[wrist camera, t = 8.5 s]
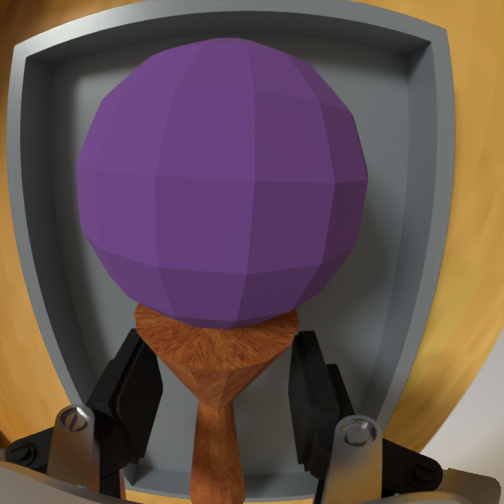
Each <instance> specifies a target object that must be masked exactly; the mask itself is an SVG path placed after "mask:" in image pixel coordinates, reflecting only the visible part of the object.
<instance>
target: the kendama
mask: <svg viewBox="0 0 504 504" xmlns="http://www.w3.org/2000/svg"><path fill="white" fill-rule="evenodd" d="M76 172H77V191H78V204H79V215H80V225H81V229H82V231H83V233H84V234H85V236H86V238H87V240H88V241H89V243H90V245H91V246H92V248H93V250H94V252H95V253H96V255H97V256H98V258H99V260H100V261H101V263H102V265H103V266H104V268H105V269H106V271H107V273H108V274H109V276H110V277H111V278H112V279H113V280H114V282H115V283H116V284H117V285H118V286H119V287H120V288H121V289H122V290H123V292H124V293H125V294H126V295H127V296H128V297H129V298H130V299H132V300H134V301H136V302H138V303H139V304H138V305H137V307H136V309H135V311H134V315H135V322H136V329H137V333H138V334H139V335H140V336H141V338H142V339H143V340H144V341H145V342H146V344H147V345H148V346H149V347H150V348H151V349H152V350H153V352H154V353H155V354H156V355H157V356H158V357H159V358H160V359H161V361H162V362H163V363H164V364H165V365H166V366H167V367H168V368H169V369H170V370H171V371H172V372H173V374H174V375H175V376H176V377H177V378H178V379H179V380H180V381H181V382H182V383H183V384H184V385H185V386H186V387H187V388H188V389H189V390H190V391H191V392H192V393H193V394H194V395H195V396H196V397H197V398H198V399H199V401H198V409H197V418H196V427H195V437H194V446H193V456H192V467H191V477H190V489H189V496H190V499H191V501H192V504H243V503H244V501H245V484H244V478H243V471H242V465H241V458H240V451H239V444H238V436H237V429H236V421H235V414H234V406H233V400H234V399H235V398H236V397H237V396H238V395H239V394H240V393H241V392H243V391H244V390H245V389H246V388H247V387H248V386H249V385H250V384H251V383H252V382H253V381H254V380H255V379H256V378H257V377H258V376H260V375H261V374H262V373H263V372H264V371H265V370H266V369H267V368H268V367H269V366H270V365H271V364H272V363H273V362H274V361H275V360H276V359H277V358H278V357H279V356H280V355H281V354H282V353H283V352H284V351H285V350H286V349H287V348H288V347H289V346H290V345H291V343H292V341H293V339H294V336H295V334H296V332H297V330H298V328H299V325H300V324H299V319H298V315H297V311H296V307H298V306H299V305H301V304H303V303H304V302H306V301H307V300H309V299H311V298H312V297H314V296H315V295H317V294H318V293H320V292H321V291H322V290H323V289H324V288H325V286H326V285H327V284H328V282H329V281H330V280H331V278H332V277H333V276H334V274H335V273H336V272H337V271H338V269H339V268H340V267H341V265H342V264H343V263H344V261H345V260H346V258H347V257H348V256H349V254H350V253H351V252H352V250H353V249H354V248H355V246H356V241H357V237H358V232H359V227H360V222H361V217H362V212H363V207H364V201H365V195H366V190H367V184H368V170H367V166H366V161H365V157H364V153H363V149H362V146H361V142H360V138H359V134H358V131H357V127H356V124H355V120H354V117H353V115H352V113H351V112H350V110H349V109H348V108H347V107H346V105H345V104H344V103H343V102H342V101H341V99H340V98H339V97H338V96H337V94H336V93H335V92H334V91H333V90H332V89H331V87H330V86H329V85H328V84H327V83H326V82H325V81H324V79H323V78H322V77H321V76H320V75H319V74H318V73H317V72H316V70H315V69H314V68H313V67H312V66H311V65H310V64H309V63H308V62H306V61H303V60H301V59H298V58H296V57H294V56H291V55H289V54H286V53H284V52H281V51H278V50H276V49H273V48H270V47H268V46H265V45H262V44H259V43H256V42H253V41H250V40H246V39H240V38H216V39H210V40H205V41H200V42H196V43H191V44H187V45H183V46H179V47H175V48H171V49H168V50H165V51H163V52H160V53H158V54H155V55H153V56H150V57H149V58H148V59H147V60H146V61H144V62H143V63H142V64H141V65H140V66H138V67H137V68H136V69H135V70H134V71H133V72H131V73H130V74H129V75H128V76H127V77H126V78H125V79H124V80H123V81H121V82H120V83H119V84H118V85H117V86H116V87H115V88H114V89H113V90H112V91H111V92H110V93H109V94H108V95H107V96H106V97H105V98H104V99H103V100H102V101H101V103H100V105H99V107H98V110H97V112H96V114H95V117H94V119H93V121H92V124H91V126H90V128H89V131H88V133H87V136H86V138H85V141H84V144H83V146H82V149H81V152H80V154H79V157H78V160H77V163H76Z"/></svg>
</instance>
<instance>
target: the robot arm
mask: <svg viewBox="0 0 504 504" xmlns="http://www.w3.org/2000/svg"><path fill="white" fill-rule="evenodd" d="M162 394H163V382H162V377H161V373H160V369H159V365H158V360H157V356H156V354H155V353H154V352H153V350H152V349H151V348H150V347H149V346H148V345H147V344H146V342H145V341H144V340H143V339H142V338H141V336H140V335H139V334H138V333H137V329H136V328H132V329H131V330H130V331H129V333H128V335H127V337H126V338H125V340H124V342H123V344H122V345H121V347H120V349H119V351H118V352H117V354H116V356H115V358H114V359H112V360H110V361H109V363H108V364H107V366H106V368H105V370H104V372H103V373H102V375H101V377H100V379H99V381H98V382H97V384H96V386H95V388H94V390H93V392H92V394H91V396H90V397H89V399H88V401H87V403H86V405H81V404H74V405H69V406H67V407H65V408H63V409H62V410H61V411H60V412H59V413H58V414H57V417H56V420H55V425H54V427H52V428H49V429H46V430H44V431H41V432H38V433H36V434H33V435H30V436H27V437H24V438H22V439H19V440H16V441H14V442H13V443H12V444H11V445H10V446H9V447H8V449H7V451H5V449H4V448H2V449H0V504H142V503H137V502H132V501H128V500H126V494H125V482H124V469H123V468H124V467H126V466H127V465H128V463H131V464H136V465H138V462H139V459H140V458H144V456H145V453H146V449H147V446H148V442H149V438H150V435H151V431H152V428H153V424H154V421H155V417H156V414H157V411H158V407H159V404H160V400H161V397H162ZM288 397H289V404H290V411H291V418H292V425H293V432H294V439H295V446H296V453H297V460H298V464H299V465H300V464H304V470H305V472H309V471H310V474H311V475H312V476H314V477H315V478H317V484H316V489H315V494H314V498H313V503H312V504H499V500H500V496H501V486H500V484H499V482H498V481H497V480H496V479H495V478H492V477H489V476H483V475H478V474H473V473H468V472H464V471H459V470H455V469H451V468H448V470H443V469H442V468H441V466H440V465H439V463H438V462H437V461H435V460H433V459H431V458H429V457H427V456H424V455H421V454H419V453H417V452H414V451H412V450H409V449H407V448H404V447H402V446H400V445H397V444H395V443H393V442H391V441H388V440H386V439H384V438H382V431H381V427H380V426H379V424H378V423H377V422H376V421H375V420H373V419H372V418H369V417H367V416H363V415H355V412H354V410H353V407H352V404H351V401H350V398H349V396H348V393H347V390H346V387H345V385H344V382H343V379H342V376H341V374H340V371H339V368H338V366H337V364H335V363H334V364H325V361H324V358H323V355H322V352H321V349H320V346H319V343H318V340H317V337H316V334H315V331H299V333H298V335H295V336H294V339H293V342H292V352H291V363H290V373H289V382H288Z"/></svg>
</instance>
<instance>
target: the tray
mask: <svg viewBox="0 0 504 504" xmlns="http://www.w3.org/2000/svg"><path fill="white" fill-rule="evenodd" d="M216 38H240V39H246V40H250V41H253V42H256V43H259V44H262V45H265V46H268V47H270V48H273V49H276V50H278V51H281V52H284V53H286V54H289V55H291V56H294V57H296V58H298V59H301V60H303V61H306V62H308V63H309V64H310V65H311V66H312V67H313V68H314V69H315V70H316V72H317V73H318V74H319V75H320V76H321V77H322V78H323V79H324V81H325V82H326V83H327V84H328V85H329V86H330V87H331V89H332V90H333V91H334V92H335V93H336V94H337V96H338V97H339V98H340V99H341V101H342V102H343V103H344V104H345V105H346V107H347V108H348V109H349V110H350V112H351V113H352V115H353V117H354V120H355V124H356V127H357V131H358V134H359V138H360V142H361V146H362V149H363V153H364V157H365V161H366V166H367V170H368V184H367V190H366V195H365V201H364V207H363V212H362V217H361V222H360V227H359V232H358V237H357V241H356V246H355V248H354V249H353V250H352V252H351V253H350V254H349V256H348V257H347V258H346V260H345V261H344V263H343V264H342V265H341V267H340V268H339V269H338V271H337V272H336V273H335V274H334V276H333V277H332V278H331V280H330V281H329V282H328V284H327V285H326V286H325V288H324V289H323V290H322V291H321V292H320V293H318V294H317V295H315V296H314V297H312V298H311V299H309V300H307V301H306V302H304V303H303V304H301V305H299V306H298V307H296V311H297V315H298V319H299V324H300V325H299V328H298V330H297V332H296V334H295V335H298V333H299V331H315V334H316V337H317V340H318V343H319V346H320V349H321V352H322V355H323V358H324V361H325V364H334V363H335V364H337V366H338V368H339V371H340V374H341V376H342V379H343V382H344V385H345V387H346V390H347V393H348V396H349V398H350V401H351V404H352V407H353V410H354V412H355V415H363V416H367V417H369V418H372V419H373V420H375V421H376V422H377V423H378V424H379V426H380V427H381V431H382V435H383V433H384V431H385V429H386V427H387V425H388V423H389V421H390V418H391V416H392V414H393V412H394V410H395V407H396V405H397V403H398V401H399V398H400V396H401V393H402V391H403V389H404V386H405V384H406V381H407V379H408V376H409V373H410V371H411V368H412V365H413V363H414V360H415V357H416V354H417V351H418V348H419V345H420V342H421V339H422V336H423V333H424V330H425V326H426V323H427V320H428V316H429V313H430V309H431V305H432V302H433V298H434V294H435V290H436V285H437V281H438V277H439V272H440V267H441V263H442V258H443V252H444V247H445V241H446V235H447V228H448V222H449V214H450V206H451V197H452V186H453V173H454V154H455V107H454V88H453V76H452V66H451V57H450V50H449V43H448V37H447V31H446V29H444V28H442V27H439V26H436V25H434V24H431V23H428V22H426V21H423V20H420V19H417V18H414V17H411V16H408V15H405V14H401V13H398V12H395V11H391V10H387V9H384V8H380V7H376V6H372V5H367V4H363V3H358V2H353V1H348V0H148V1H143V2H138V3H134V4H129V5H125V6H121V7H117V8H113V9H109V10H106V11H102V12H99V13H95V14H92V15H89V16H86V17H83V18H80V19H77V20H74V21H71V22H68V23H66V24H63V25H60V26H58V27H55V28H53V29H50V30H48V31H45V32H43V33H41V34H38V35H36V36H34V37H32V38H30V39H27V40H25V41H23V42H21V43H19V44H17V45H15V47H14V53H13V59H12V66H11V73H10V81H9V92H8V105H7V130H6V146H7V172H8V185H9V196H10V205H11V213H12V220H13V226H14V232H15V238H16V243H17V249H18V253H19V258H20V263H21V267H22V271H23V275H24V279H25V283H26V287H27V291H28V294H29V298H30V301H31V305H32V308H33V311H34V314H35V317H36V320H37V323H38V326H39V329H40V332H41V335H42V337H43V340H44V343H45V345H46V348H47V351H48V353H49V356H50V358H51V361H52V363H53V365H54V368H55V370H56V372H57V375H58V377H59V379H60V381H61V383H62V386H63V388H64V390H65V392H66V394H67V396H68V398H69V400H70V402H71V404H72V405H74V404H81V405H86V403H87V401H88V399H89V397H90V396H91V394H92V392H93V390H94V388H95V386H96V384H97V382H98V381H99V379H100V377H101V375H102V373H103V372H104V370H105V368H106V366H107V364H108V363H109V361H110V360H112V359H114V358H115V356H116V354H117V352H118V351H119V349H120V347H121V345H122V344H123V342H124V340H125V338H126V337H127V335H128V333H129V331H130V330H131V329H132V328H136V322H135V315H134V311H135V309H136V307H137V305H138V304H139V303H138V302H136V301H134V300H132V299H130V298H129V297H128V296H127V295H126V294H125V293H124V292H123V290H122V289H121V288H120V287H119V286H118V285H117V284H116V283H115V282H114V280H113V279H112V278H111V277H110V276H109V274H108V273H107V271H106V269H105V268H104V266H103V265H102V263H101V261H100V260H99V258H98V256H97V255H96V253H95V252H94V250H93V248H92V246H91V245H90V243H89V241H88V240H87V238H86V236H85V234H84V233H83V231H82V229H81V225H80V215H79V204H78V191H77V172H76V163H77V160H78V157H79V154H80V152H81V149H82V146H83V144H84V141H85V138H86V136H87V133H88V131H89V128H90V126H91V124H92V121H93V119H94V117H95V114H96V112H97V110H98V107H99V105H100V103H101V101H102V100H103V99H104V98H105V97H106V96H107V95H108V94H109V93H110V92H111V91H112V90H113V89H114V88H115V87H116V86H117V85H118V84H119V83H120V82H121V81H123V80H124V79H125V78H126V77H127V76H128V75H129V74H130V73H131V72H133V71H134V70H135V69H136V68H137V67H138V66H140V65H141V64H142V63H143V62H144V61H146V60H147V59H148V58H149V57H150V56H153V55H155V54H158V53H160V52H163V51H165V50H168V49H171V48H175V47H179V46H183V45H187V44H191V43H196V42H200V41H205V40H210V39H216ZM292 342H293V341H292ZM291 352H292V343H291V345H290V346H289V347H288V348H287V349H286V350H285V351H284V352H283V353H282V354H281V355H280V356H279V357H278V358H277V359H276V360H275V361H274V362H273V363H272V364H271V365H270V366H269V367H268V368H267V369H266V370H265V371H264V372H263V373H262V374H261V375H260V376H258V377H257V378H256V379H255V380H254V381H253V382H252V383H251V384H250V385H249V386H248V387H247V388H246V389H245V390H244V391H243V392H241V393H240V394H239V395H238V396H237V397H236V398H235V399H234V400H233V406H234V414H235V421H236V429H237V436H238V444H239V451H240V458H241V465H242V471H243V478H244V484H245V501H244V502H276V501H291V500H302V499H311V498H314V494H315V489H316V484H317V478H315V477H314V476H312V475H311V474H310V471H309V472H305V470H304V464H300V465H299V464H298V460H297V453H296V446H295V439H294V432H293V425H292V418H291V411H290V404H289V397H288V382H289V373H290V363H291ZM156 356H157V355H156ZM157 360H158V365H159V369H160V373H161V377H162V382H163V394H162V397H161V400H160V404H159V407H158V411H157V414H156V417H155V421H154V424H153V428H152V431H151V435H150V438H149V442H148V446H147V449H146V453H145V456H144V458H140V459H139V462H138V465H136V464H131V463H128V465H127V466H126V467H124V468H123V469H124V482H125V489H129V490H133V491H138V492H143V493H149V494H154V495H160V496H167V497H174V498H182V499H190V496H189V489H190V477H191V467H192V456H193V446H194V437H195V427H196V418H197V409H198V401H199V399H198V398H197V397H196V396H195V395H194V394H193V393H192V392H191V391H190V390H189V389H188V388H187V387H186V386H185V385H184V384H183V383H182V382H181V381H180V380H179V379H178V378H177V377H176V376H175V375H174V374H173V372H172V371H171V370H170V369H169V368H168V367H167V366H166V365H165V364H164V363H163V362H162V361H161V359H160V358H159V357H158V356H157Z"/></svg>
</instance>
